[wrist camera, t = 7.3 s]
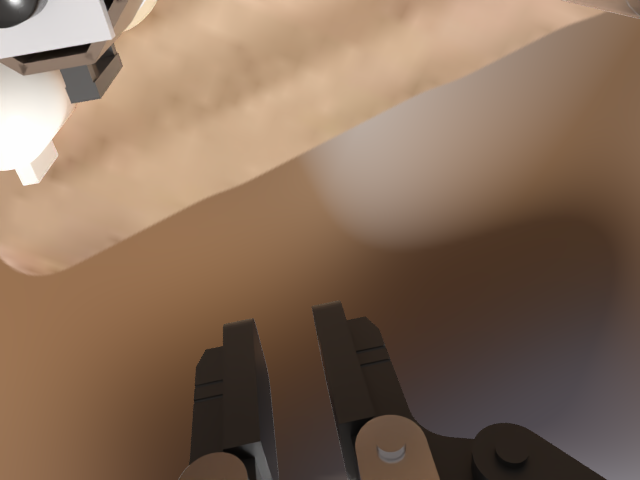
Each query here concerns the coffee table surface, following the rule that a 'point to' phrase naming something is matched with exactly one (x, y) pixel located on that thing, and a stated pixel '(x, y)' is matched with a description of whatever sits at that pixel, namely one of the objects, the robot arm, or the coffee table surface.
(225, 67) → the coffee table surface
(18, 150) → the mug
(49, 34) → the carafe
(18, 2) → the plunger
